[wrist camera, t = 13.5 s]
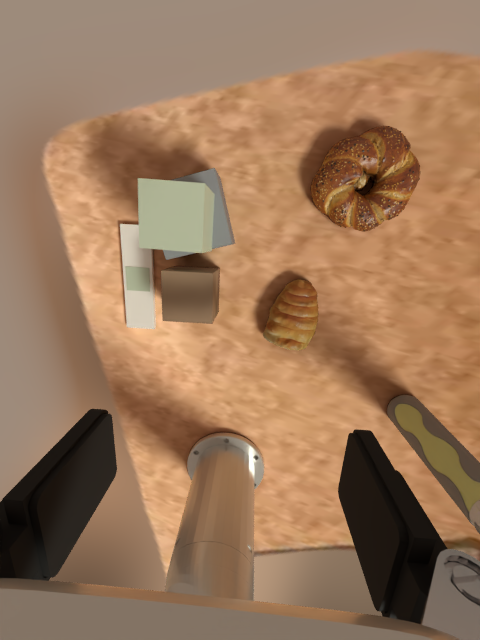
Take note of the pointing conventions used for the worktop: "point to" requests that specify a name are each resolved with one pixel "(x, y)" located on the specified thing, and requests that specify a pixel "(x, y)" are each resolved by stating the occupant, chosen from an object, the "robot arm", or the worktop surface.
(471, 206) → the worktop surface
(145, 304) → the card
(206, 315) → the walnut block
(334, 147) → the pretzel
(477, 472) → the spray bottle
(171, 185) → the sage block
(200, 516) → the robot arm
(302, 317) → the pastry
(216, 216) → the base block
